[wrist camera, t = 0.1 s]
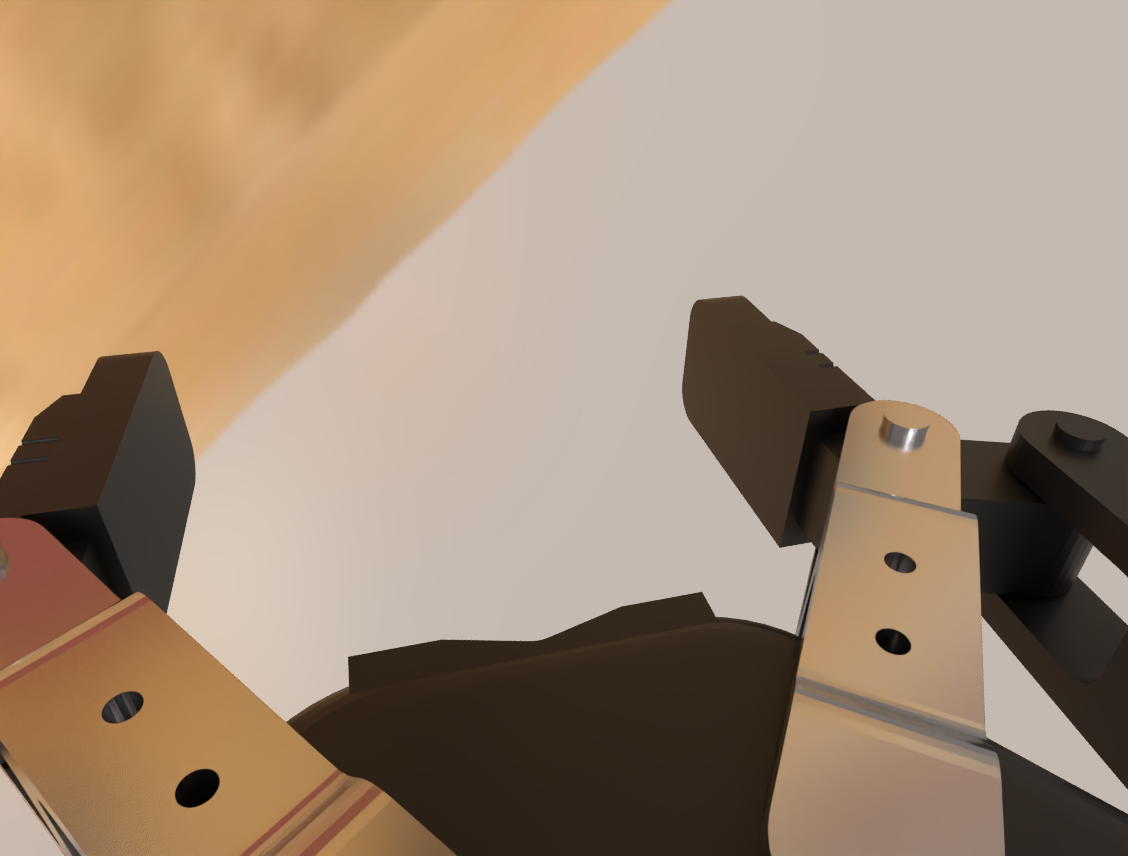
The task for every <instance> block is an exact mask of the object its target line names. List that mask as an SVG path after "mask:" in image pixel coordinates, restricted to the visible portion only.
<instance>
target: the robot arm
mask: <svg viewBox="0 0 1128 856" xmlns="http://www.w3.org/2000/svg"><path fill="white" fill-rule="evenodd" d="M682 385H683V386H682V394H683V402H684V407H685V411H686V414H687V416H688V419H689V420H690V422H691V423H692V424H693V426H694V428H695V429H696V430H697V432H698V433H699V435H700V436H701V437H702V439H703V440H704V442H705V443H706V445H707V446H708V447H709V449H710V450H711V452H712V453H713V454H714V456H715V457H716V459H717V460H718V461H719V463H720V464H721V466H722V467H723V468H724V470H725V471H726V472H727V474H728V475H729V477H730V478H731V480H732V481H733V483H734V484H735V485H736V487H737V488H738V490H739V491H740V492H741V494H742V495H743V497H744V498H745V499H746V501H747V502H748V504H749V505H750V506H751V508H752V509H753V511H754V512H755V514H756V515H757V516H758V518H759V519H760V521H761V522H762V523H763V525H764V526H765V527H766V529H767V530H768V532H769V533H770V535H771V536H772V537H773V539H774V540H775V542H776V543H777V545H778V546H779V547H786V546H792V545H798V544H804V543H809V542H812V543H813V545H814V546H815V547H816V548H815V552H814V556H813V560H812V563H811V567H810V572H809V576H808V581H807V586H806V590H805V594H804V599H803V603H802V607H801V612H800V617H799V621H798V625H797V630H796V634H795V635H794V634H792V633H789V632H787V631H784V630H781V629H778V628H775V627H772V626H768V625H765V624H761V623H757V622H752V621H748V620H742V619H733V618H726V617H715V615H714V613H713V611H712V609H711V607H710V606H709V604H708V602H707V600H706V599H705V597H704V595H703V593H702V592H699V593H693V594H688V595H682V596H677V597H672V598H666V599H661V600H655V601H650V602H644V603H639V604H634V605H628V606H622V607H619V608H617V609H615V610H612V611H610V612H608V613H606V614H603V615H601V616H598V617H596V618H594V619H591V620H589V621H586V622H584V623H582V624H579V625H577V626H575V627H572V628H570V629H568V630H565V631H563V632H561V633H558V634H556V635H554V636H551V637H549V638H546V639H543V640H539V641H484V640H482V641H481V640H438V641H432V642H427V643H421V644H416V645H410V646H405V647H399V648H394V649H389V650H383V651H378V652H372V653H367V654H361V655H356V656H351V657H348V665H349V687H346V688H344V689H342V690H340V691H337V692H335V693H333V694H331V695H329V696H327V697H325V698H323V699H321V700H320V701H318V702H316V703H314V704H312V705H310V706H309V707H307V708H306V709H304V710H303V711H301V712H300V713H298V714H297V715H295V716H294V717H292V718H291V719H290V720H289V721H287V722H285V721H284V720H283V719H282V718H281V717H279V716H278V715H277V714H276V713H275V712H274V711H273V710H272V709H270V708H269V707H268V706H267V705H266V704H265V703H264V702H263V701H262V700H261V699H259V698H258V697H257V696H256V695H255V694H254V693H253V692H252V691H250V689H248V688H247V687H246V686H245V685H244V684H243V683H242V682H241V681H240V680H239V679H237V678H236V677H235V676H234V675H233V674H232V673H231V672H230V671H229V670H228V669H226V668H225V667H224V666H223V665H222V664H221V663H220V662H219V661H218V660H216V659H215V658H214V657H213V656H212V655H211V654H210V653H209V652H208V651H207V650H205V649H204V648H203V647H202V646H201V645H200V644H199V643H198V642H197V641H196V640H194V639H193V638H192V637H191V636H190V635H189V634H188V633H187V632H186V631H185V630H183V629H182V628H181V627H180V626H179V625H178V624H177V623H176V622H175V621H173V620H172V619H171V618H170V617H169V616H168V615H167V609H168V605H169V600H170V595H171V591H172V587H173V582H174V577H175V573H176V568H177V564H178V559H179V555H180V550H181V546H182V541H183V536H184V532H185V527H186V523H187V518H188V514H189V509H190V505H191V500H192V495H193V490H194V486H195V460H194V453H193V448H192V444H191V440H190V437H189V434H188V430H187V427H186V424H185V420H184V417H183V414H182V411H181V407H180V404H179V401H178V397H177V394H176V391H175V388H174V384H173V381H172V378H171V374H170V371H169V368H168V365H167V363H166V360H165V358H164V357H163V355H162V354H161V353H160V352H159V351H155V352H144V353H134V354H124V355H113V356H103V357H100V358H98V360H97V362H96V364H95V366H94V368H93V370H92V372H91V374H90V376H89V378H88V380H87V382H86V384H85V386H84V388H83V390H82V392H81V394H72V395H63V396H62V397H60V398H59V399H58V400H56V401H55V402H54V403H53V404H51V405H50V406H49V407H47V408H46V409H45V410H44V411H42V412H41V413H40V414H39V415H37V416H36V417H35V418H34V419H33V421H32V423H31V425H30V427H29V428H28V430H27V432H26V434H25V435H24V437H23V439H22V441H21V442H22V446H18V448H17V450H16V452H15V453H14V455H13V457H12V459H11V460H10V461H11V465H9V466H7V468H6V469H5V471H4V473H3V475H2V477H1V478H0V767H1V769H2V770H3V771H4V773H5V774H6V775H7V777H8V778H9V780H10V781H11V783H12V784H13V785H14V787H15V788H16V789H17V791H18V792H19V794H20V795H21V796H22V798H23V799H24V801H25V802H26V803H27V805H28V806H29V807H30V809H31V810H32V811H33V813H34V814H35V816H36V817H37V818H38V820H39V821H40V823H41V824H42V825H43V827H44V828H45V830H46V831H47V832H48V834H49V835H50V836H51V838H52V839H53V841H54V842H55V843H56V845H57V846H58V848H59V849H60V850H61V852H62V853H63V854H64V856H1128V814H1127V813H1125V812H1123V811H1121V810H1119V809H1117V808H1116V807H1114V806H1112V805H1110V804H1108V803H1106V802H1104V801H1103V800H1101V799H1099V798H1097V797H1095V796H1093V795H1091V794H1090V793H1088V792H1086V791H1084V790H1082V789H1080V788H1079V787H1077V786H1075V785H1073V784H1071V783H1069V782H1067V781H1066V780H1064V779H1062V778H1060V777H1058V776H1056V775H1055V774H1053V773H1051V772H1049V771H1047V770H1045V769H1043V768H1042V767H1040V766H1038V765H1036V764H1034V763H1033V762H1031V761H1029V760H1027V759H1025V758H1023V757H1021V756H1020V755H1018V754H1016V753H1014V752H1012V751H1010V750H1008V749H1007V748H1005V747H1003V746H1001V745H999V744H997V743H996V742H994V741H992V740H990V739H988V738H987V737H986V732H985V713H984V686H983V685H984V683H983V654H982V624H981V616H982V617H983V618H984V619H985V621H987V623H988V624H989V625H990V626H991V628H992V629H993V630H994V631H995V632H996V634H997V635H998V636H999V637H1000V638H1001V640H1002V641H1003V642H1004V643H1005V644H1006V645H1007V647H1008V648H1009V649H1010V650H1011V651H1012V653H1013V654H1014V655H1015V656H1016V657H1017V659H1018V660H1019V661H1020V662H1021V663H1022V664H1023V666H1024V667H1025V668H1026V669H1027V670H1028V671H1029V673H1030V674H1031V675H1032V676H1033V677H1034V679H1035V680H1036V681H1037V682H1038V683H1039V684H1040V686H1041V687H1042V688H1043V689H1044V691H1045V692H1046V693H1047V694H1048V695H1049V697H1050V698H1051V699H1052V700H1053V701H1054V702H1055V704H1056V705H1057V706H1058V707H1059V708H1060V710H1061V711H1062V712H1063V713H1064V714H1065V716H1066V717H1067V718H1068V719H1069V720H1070V721H1071V723H1072V724H1073V725H1074V726H1075V727H1076V729H1077V730H1078V731H1079V732H1080V733H1081V735H1082V736H1083V737H1084V738H1085V739H1086V741H1087V742H1088V743H1089V744H1090V745H1091V746H1092V748H1093V749H1094V750H1095V751H1096V752H1097V754H1098V755H1099V756H1100V757H1101V758H1102V759H1103V761H1104V762H1105V763H1106V764H1107V765H1108V767H1109V768H1110V769H1111V770H1112V771H1113V773H1114V774H1115V775H1116V776H1117V777H1118V779H1119V780H1120V781H1121V782H1122V783H1123V784H1124V786H1125V787H1126V788H1127V789H1128V625H1127V624H1126V623H1124V621H1123V620H1122V619H1121V618H1119V616H1118V615H1116V613H1114V612H1113V611H1112V610H1111V609H1110V608H1109V607H1108V606H1107V605H1106V604H1105V603H1104V602H1103V601H1102V600H1101V599H1100V598H1099V597H1098V596H1097V595H1096V594H1095V593H1094V592H1093V591H1092V590H1091V589H1090V588H1089V587H1088V586H1086V585H1085V583H1083V582H1082V581H1081V580H1080V579H1079V578H1078V577H1077V575H1078V574H1079V572H1080V570H1081V568H1082V566H1083V564H1084V562H1085V560H1086V558H1087V556H1088V554H1089V553H1090V551H1091V549H1092V547H1093V546H1095V547H1096V548H1097V549H1098V550H1099V551H1100V552H1101V553H1102V554H1103V555H1105V556H1106V557H1107V558H1108V559H1109V560H1110V561H1111V562H1112V563H1113V564H1115V565H1116V566H1117V567H1118V568H1119V569H1120V570H1121V571H1122V572H1123V573H1124V574H1125V575H1126V576H1127V577H1128V437H1126V436H1125V435H1124V434H1122V433H1120V432H1119V431H1117V430H1116V429H1114V428H1112V427H1110V426H1108V425H1107V424H1104V423H1102V422H1100V421H1097V420H1094V419H1092V418H1089V417H1086V416H1082V415H1078V414H1074V413H1069V412H1063V411H1049V410H1048V411H1036V412H1032V413H1029V414H1026V415H1025V416H1023V417H1022V418H1021V419H1020V420H1019V423H1018V425H1017V428H1016V431H1015V433H1014V435H1013V438H1012V440H1011V443H1001V442H986V441H972V440H960V435H959V433H958V431H957V429H956V428H955V427H954V426H953V425H952V424H951V423H950V422H949V421H948V420H947V419H945V418H944V417H942V416H941V415H939V414H937V413H935V412H933V411H931V410H929V409H926V408H924V407H921V406H918V405H914V404H910V403H906V402H900V401H891V400H879V401H875V400H874V399H873V398H872V397H871V396H870V395H868V394H867V393H866V392H865V391H864V390H863V389H862V388H861V387H860V386H858V385H857V384H856V383H855V382H854V381H853V380H852V379H851V378H849V377H848V376H847V375H846V374H845V373H844V372H843V371H842V370H841V369H840V368H838V367H837V366H835V367H834V366H833V362H831V360H830V359H828V358H827V357H826V356H825V355H824V354H822V353H819V350H818V349H817V348H816V347H815V346H814V345H813V344H812V343H811V342H810V341H808V340H807V339H806V338H805V337H804V336H803V335H802V334H800V333H798V332H796V331H794V330H791V329H789V328H787V327H785V326H783V325H781V324H779V323H777V322H771V321H770V320H769V319H768V318H767V317H766V316H765V315H764V314H762V312H760V311H759V310H758V309H757V308H756V307H755V306H754V305H753V304H752V303H751V302H750V301H749V300H748V299H746V298H745V297H743V296H732V297H722V298H712V299H702V300H697V301H696V302H695V304H694V305H693V307H692V311H691V315H690V322H689V331H688V340H687V349H686V357H685V366H684V374H683V384H682Z"/></svg>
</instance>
